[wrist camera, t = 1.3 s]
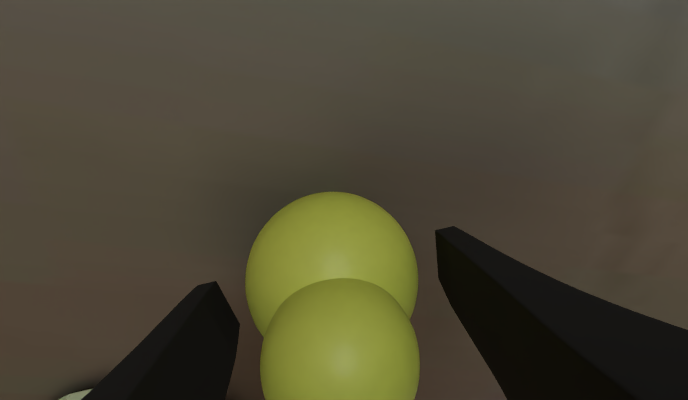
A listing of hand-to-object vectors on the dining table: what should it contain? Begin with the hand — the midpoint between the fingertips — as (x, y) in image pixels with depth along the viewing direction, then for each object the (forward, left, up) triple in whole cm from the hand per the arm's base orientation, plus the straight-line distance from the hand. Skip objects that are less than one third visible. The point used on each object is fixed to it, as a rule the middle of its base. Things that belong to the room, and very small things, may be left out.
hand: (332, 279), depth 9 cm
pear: (0, 0, -3) cm, 3 cm away
